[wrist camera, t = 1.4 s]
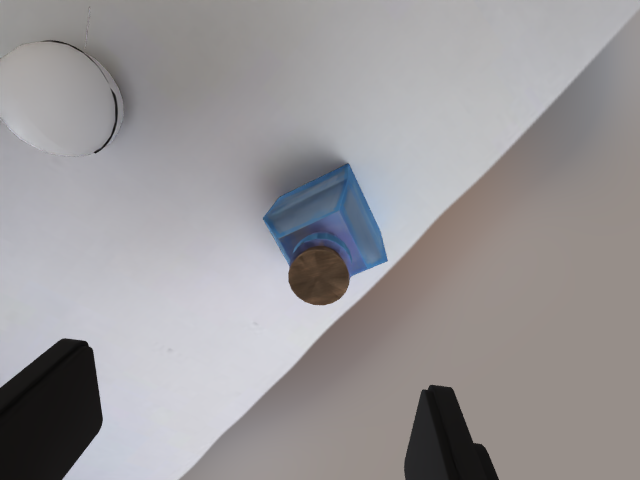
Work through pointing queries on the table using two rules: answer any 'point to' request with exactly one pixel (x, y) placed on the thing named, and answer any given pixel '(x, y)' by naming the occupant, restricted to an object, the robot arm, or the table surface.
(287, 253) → the perfume bottle
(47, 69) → the white sphere
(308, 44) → the table surface
